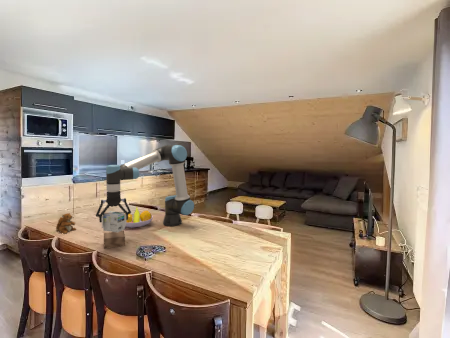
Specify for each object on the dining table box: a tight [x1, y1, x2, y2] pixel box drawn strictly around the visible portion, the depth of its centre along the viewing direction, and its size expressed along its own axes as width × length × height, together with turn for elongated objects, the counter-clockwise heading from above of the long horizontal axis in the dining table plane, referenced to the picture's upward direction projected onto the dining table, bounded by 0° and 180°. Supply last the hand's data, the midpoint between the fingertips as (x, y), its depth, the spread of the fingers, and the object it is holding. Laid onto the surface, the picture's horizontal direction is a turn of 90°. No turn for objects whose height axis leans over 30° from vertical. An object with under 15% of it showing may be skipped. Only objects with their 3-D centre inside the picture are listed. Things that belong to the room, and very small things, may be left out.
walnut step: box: [103, 230, 126, 250], centre depth 155 cm, size 12×12×6 cm
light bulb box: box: [102, 210, 126, 232], centre depth 146 cm, size 11×7×11 cm, turn 75°
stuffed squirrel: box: [55, 212, 77, 235], centre depth 177 cm, size 10×14×13 cm
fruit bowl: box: [125, 206, 154, 229], centre depth 194 cm, size 28×27×11 cm
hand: (114, 226), depth 146 cm, fingers closed on light bulb box, 12 cm apart
